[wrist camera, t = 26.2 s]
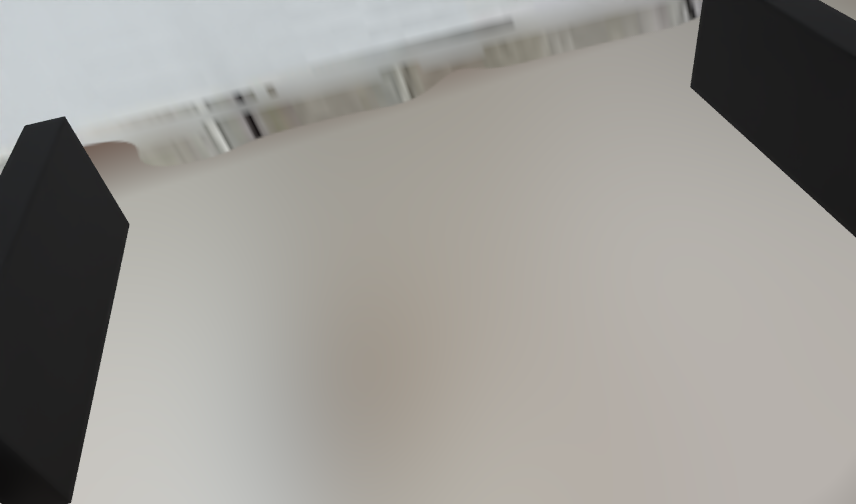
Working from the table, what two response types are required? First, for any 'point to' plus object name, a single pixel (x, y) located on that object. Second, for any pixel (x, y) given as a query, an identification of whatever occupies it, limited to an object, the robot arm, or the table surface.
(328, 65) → the table surface
